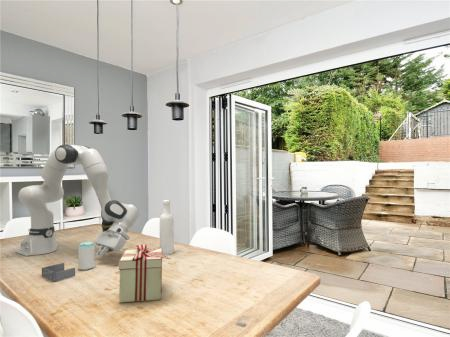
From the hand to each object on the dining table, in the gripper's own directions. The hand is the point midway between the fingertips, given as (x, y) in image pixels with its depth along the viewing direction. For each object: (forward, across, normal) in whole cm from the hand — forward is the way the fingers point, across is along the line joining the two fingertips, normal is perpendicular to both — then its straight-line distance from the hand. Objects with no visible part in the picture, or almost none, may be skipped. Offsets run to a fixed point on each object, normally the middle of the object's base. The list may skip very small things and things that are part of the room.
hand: (99, 254), depth 140 cm
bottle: (-20, +12, +27) cm, 36 cm away
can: (+8, 0, -1) cm, 8 cm away
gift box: (+8, +45, 0) cm, 46 cm away
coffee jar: (-9, -21, +16) cm, 28 cm away
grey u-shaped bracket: (+16, 0, -10) cm, 19 cm away
